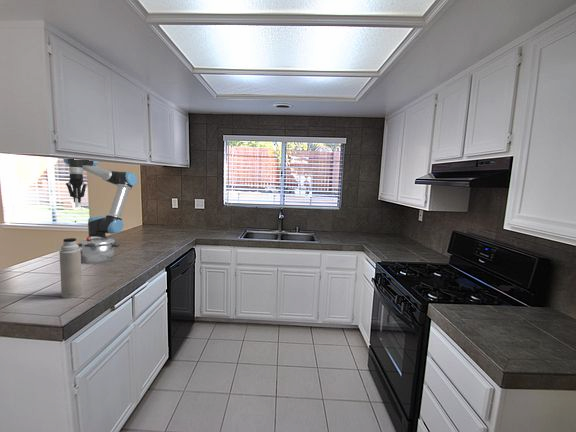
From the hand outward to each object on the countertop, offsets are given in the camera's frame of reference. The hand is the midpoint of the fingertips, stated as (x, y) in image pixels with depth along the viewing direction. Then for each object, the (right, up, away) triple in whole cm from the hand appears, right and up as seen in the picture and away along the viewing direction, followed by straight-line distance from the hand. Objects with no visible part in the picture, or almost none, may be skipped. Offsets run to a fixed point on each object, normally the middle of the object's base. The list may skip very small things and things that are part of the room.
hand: (77, 207), depth 204 cm
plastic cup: (+7, -34, +8) cm, 36 cm away
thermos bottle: (+43, -45, -63) cm, 89 cm away
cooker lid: (+20, -25, -10) cm, 34 cm away
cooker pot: (+19, -37, -7) cm, 42 cm away
